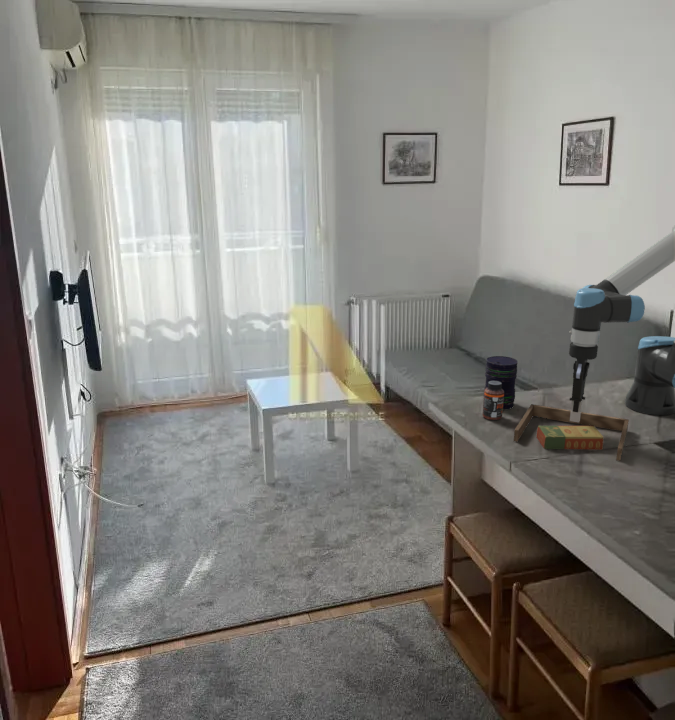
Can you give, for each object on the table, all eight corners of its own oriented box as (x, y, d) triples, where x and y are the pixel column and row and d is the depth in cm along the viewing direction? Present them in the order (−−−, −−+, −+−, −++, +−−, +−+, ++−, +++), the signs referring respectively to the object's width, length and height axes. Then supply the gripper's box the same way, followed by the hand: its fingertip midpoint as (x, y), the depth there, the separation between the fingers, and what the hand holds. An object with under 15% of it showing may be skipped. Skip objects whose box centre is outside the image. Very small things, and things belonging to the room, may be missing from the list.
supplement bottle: (498, 422, 204) (501, 386, 200) (479, 418, 207) (482, 383, 203) (504, 416, 209) (507, 381, 205) (485, 412, 212) (488, 378, 208)
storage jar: (491, 397, 225) (495, 354, 221) (519, 403, 219) (523, 359, 215) (477, 405, 218) (480, 361, 213) (505, 412, 212) (509, 367, 207)
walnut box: (627, 430, 198) (628, 419, 197) (620, 460, 178) (621, 448, 177) (530, 414, 210) (531, 404, 209) (513, 441, 190) (514, 429, 189)
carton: (602, 451, 185) (604, 436, 184) (543, 450, 185) (545, 435, 184) (592, 438, 193) (594, 424, 192) (535, 438, 193) (537, 424, 192)
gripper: (573, 336, 198) (565, 411, 205) (566, 347, 187) (557, 426, 194) (600, 339, 195) (591, 416, 202) (595, 350, 184) (585, 430, 191)
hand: (574, 420), depth 198 cm, fingers closed
